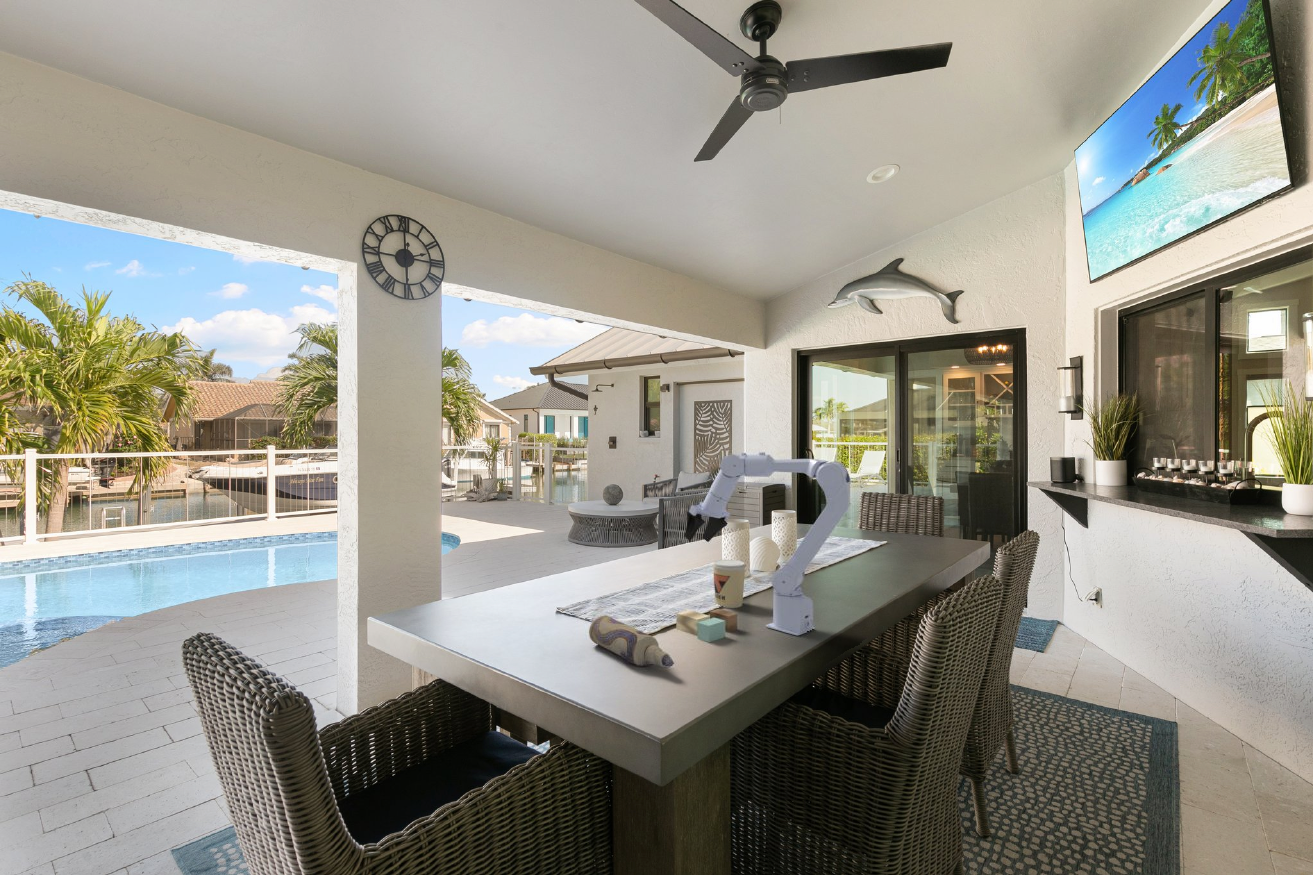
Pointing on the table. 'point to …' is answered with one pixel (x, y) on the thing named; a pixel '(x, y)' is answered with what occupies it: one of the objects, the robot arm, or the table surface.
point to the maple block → (689, 621)
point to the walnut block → (725, 618)
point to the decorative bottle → (628, 642)
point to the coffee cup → (729, 582)
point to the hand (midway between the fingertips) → (696, 539)
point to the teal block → (711, 629)
